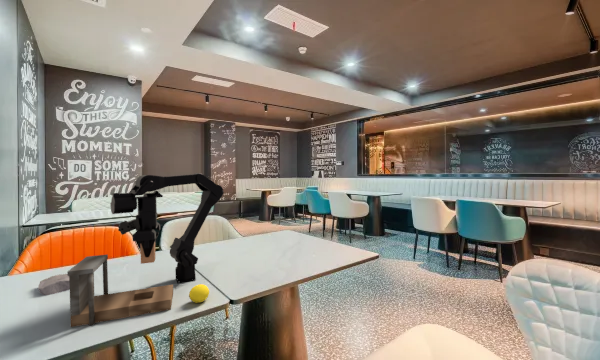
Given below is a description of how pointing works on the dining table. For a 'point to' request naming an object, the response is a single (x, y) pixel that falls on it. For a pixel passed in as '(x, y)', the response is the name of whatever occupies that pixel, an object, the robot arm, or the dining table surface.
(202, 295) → the lemon
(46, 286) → the stone block
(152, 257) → the peg
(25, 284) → the dining table surface
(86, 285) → the socket stand
